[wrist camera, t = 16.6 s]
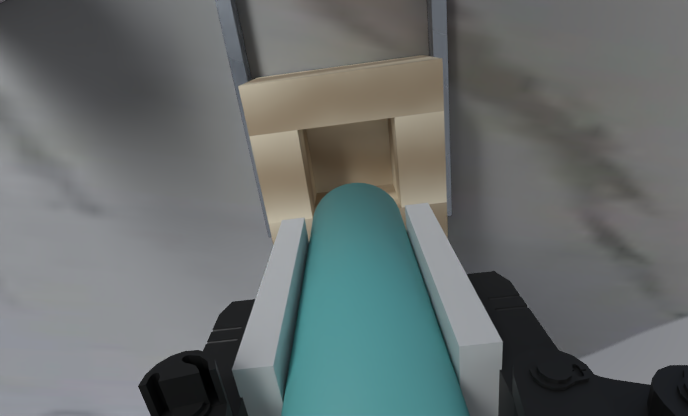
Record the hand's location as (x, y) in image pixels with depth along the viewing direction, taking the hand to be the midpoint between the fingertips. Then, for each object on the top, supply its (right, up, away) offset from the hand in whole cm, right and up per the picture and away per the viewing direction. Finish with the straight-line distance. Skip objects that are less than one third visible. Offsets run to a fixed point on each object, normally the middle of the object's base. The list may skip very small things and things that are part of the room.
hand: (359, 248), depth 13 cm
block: (0, +5, +12) cm, 14 cm away
